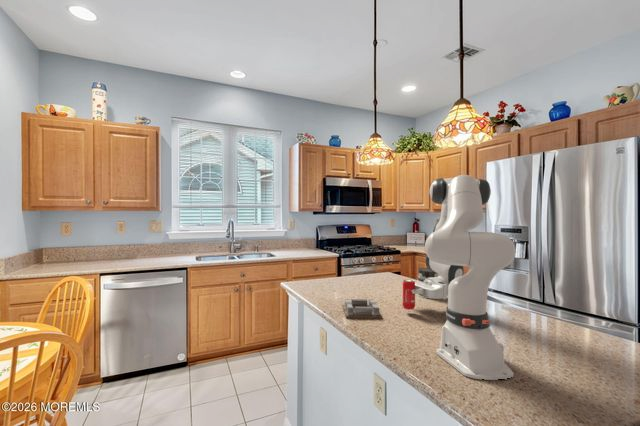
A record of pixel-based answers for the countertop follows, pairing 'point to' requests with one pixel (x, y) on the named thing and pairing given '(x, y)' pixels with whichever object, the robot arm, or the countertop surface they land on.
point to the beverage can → (408, 294)
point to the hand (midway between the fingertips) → (407, 290)
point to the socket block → (361, 309)
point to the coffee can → (424, 274)
